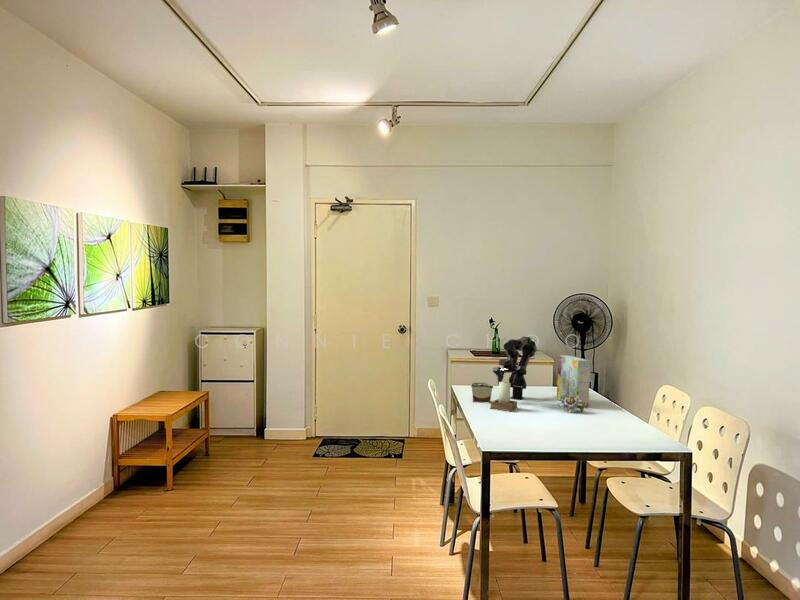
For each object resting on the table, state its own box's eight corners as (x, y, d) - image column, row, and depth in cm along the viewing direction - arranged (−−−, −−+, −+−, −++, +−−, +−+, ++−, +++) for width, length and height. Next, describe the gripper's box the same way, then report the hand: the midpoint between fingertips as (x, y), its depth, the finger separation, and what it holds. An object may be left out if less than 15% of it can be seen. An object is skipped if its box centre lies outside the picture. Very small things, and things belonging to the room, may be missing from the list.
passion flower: (569, 422, 299) (557, 404, 298) (565, 414, 310) (554, 396, 308) (588, 412, 297) (576, 393, 295) (584, 404, 307) (572, 386, 306)
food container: (492, 400, 323) (492, 382, 322) (492, 402, 317) (493, 384, 316) (470, 399, 324) (470, 381, 324) (470, 401, 318) (471, 383, 317)
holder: (498, 405, 311) (498, 398, 311) (517, 408, 305) (517, 401, 305) (489, 408, 302) (490, 402, 302) (509, 412, 296) (510, 405, 296)
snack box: (589, 407, 314) (592, 360, 313) (575, 407, 312) (577, 360, 311) (569, 398, 335) (571, 354, 334) (555, 399, 333) (557, 354, 332)
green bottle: (504, 405, 308) (505, 381, 307) (512, 408, 302) (513, 383, 302) (495, 406, 305) (496, 381, 304) (502, 409, 300) (503, 383, 299)
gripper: (490, 353, 322) (483, 378, 314) (519, 351, 309) (512, 376, 302) (501, 363, 328) (494, 387, 320) (529, 361, 315) (523, 386, 308)
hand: (506, 384), depth 312 cm, fingers open, 9 cm apart
